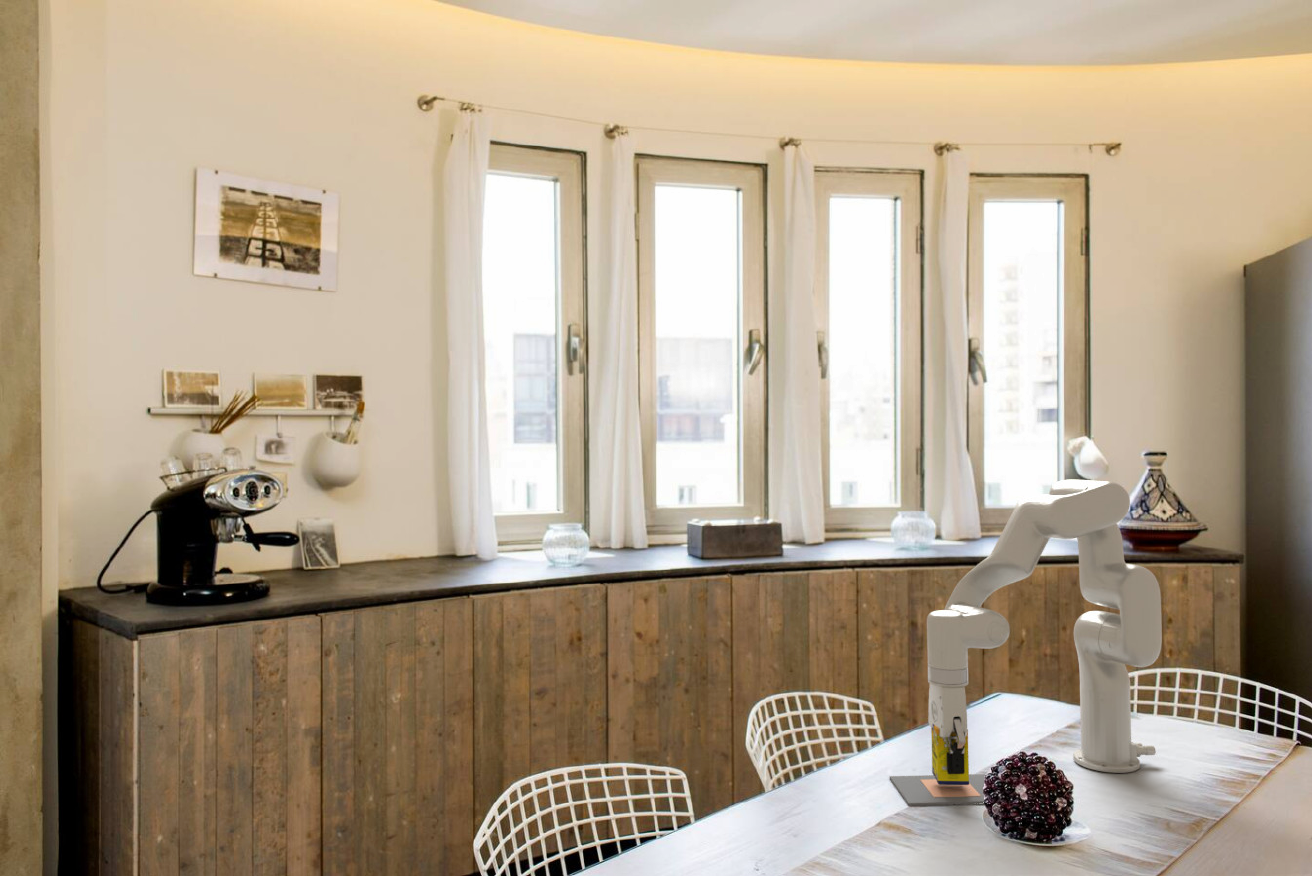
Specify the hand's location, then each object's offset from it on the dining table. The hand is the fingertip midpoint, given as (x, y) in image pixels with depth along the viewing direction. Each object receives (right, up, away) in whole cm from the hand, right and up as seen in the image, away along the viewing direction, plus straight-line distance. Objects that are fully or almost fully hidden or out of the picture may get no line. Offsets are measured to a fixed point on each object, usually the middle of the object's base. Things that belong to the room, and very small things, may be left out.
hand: (949, 766), depth 183 cm
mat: (0, -5, 0) cm, 5 cm away
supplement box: (0, -3, 0) cm, 3 cm away
